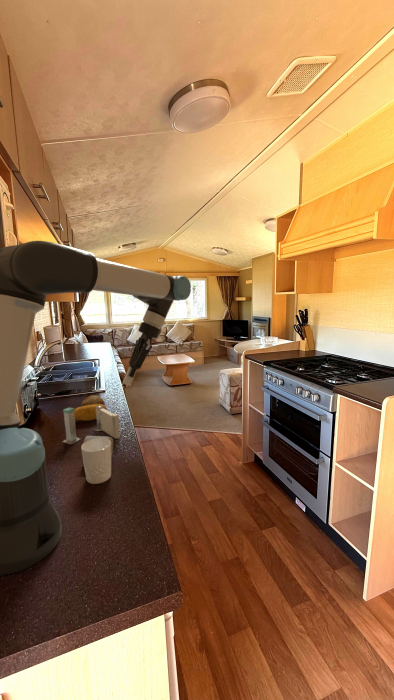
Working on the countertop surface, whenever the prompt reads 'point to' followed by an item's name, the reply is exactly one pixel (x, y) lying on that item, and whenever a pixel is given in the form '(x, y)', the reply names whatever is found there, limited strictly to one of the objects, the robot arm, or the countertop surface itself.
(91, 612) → the countertop surface
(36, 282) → the robot arm
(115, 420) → the gate
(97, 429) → the gate posts
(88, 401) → the bread roll
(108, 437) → the ceramic mug
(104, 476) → the white cup
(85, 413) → the potato
